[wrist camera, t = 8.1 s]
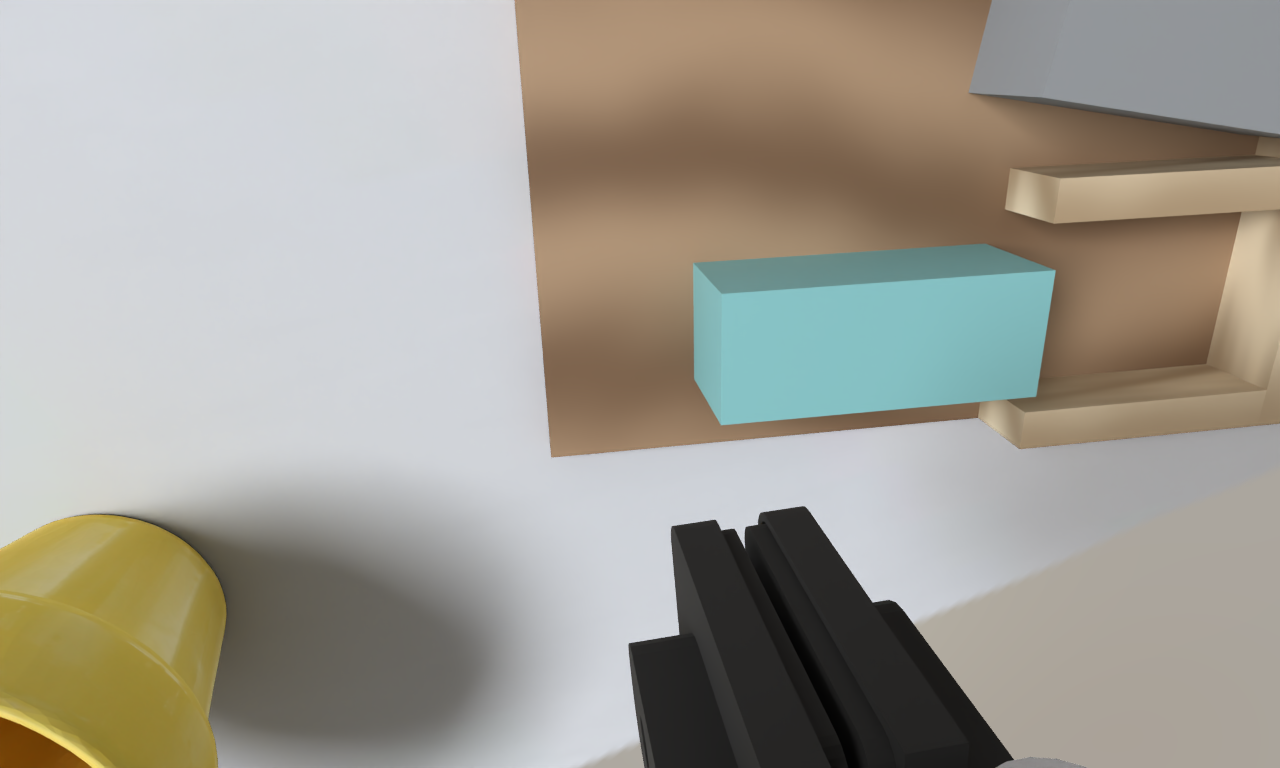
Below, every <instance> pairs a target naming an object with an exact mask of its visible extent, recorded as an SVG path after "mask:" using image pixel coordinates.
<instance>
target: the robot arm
mask: <svg viewBox="0 0 1280 768" xmlns="http://www.w3.org/2000/svg"><path fill="white" fill-rule="evenodd" d="M671 542H672V554H673V565H674V577H675V588H676V600H677V611H678V622H679V634H680V635H677V636H671V637H665V638H659V639H653V640H647V641H641V642H635V643H629V658H630V667H631V676H632V685H633V693H634V701H635V709H636V716H637V723H638V730H639V737H640V743H641V749H642V755H643V761H644V767H645V768H1087V767H1084V766H1081V765H1077V764H1073V763H1070V762H1066V761H1062V760H1059V759H1050V758H1035V757H1029V758H1023V759H1017V760H1014V759H1013V758H1012V757H1011V755H1010V754H1009V752H1008V751H1007V750H1006V748H1005V747H1004V746H1003V744H1002V743H1001V742H1000V740H999V739H998V738H997V736H996V735H995V734H994V732H993V731H992V729H991V728H990V727H989V725H988V724H987V723H986V721H985V720H984V719H983V717H982V716H981V715H980V713H979V712H978V711H977V709H976V708H975V706H974V705H973V704H972V702H971V701H970V700H969V698H968V697H967V696H966V694H965V693H964V692H963V690H962V689H961V688H960V686H959V685H958V684H957V683H956V681H955V680H954V678H953V677H952V676H951V674H950V673H949V671H948V670H947V669H946V667H945V666H944V665H943V663H942V662H941V661H940V659H939V658H938V657H937V655H936V654H935V653H934V651H933V650H932V649H931V647H930V646H929V645H928V643H927V642H926V641H925V639H924V638H923V636H922V635H921V634H920V632H919V631H918V630H917V628H916V627H915V626H914V624H913V623H912V621H911V620H910V619H909V617H908V616H907V615H906V613H905V612H904V611H903V609H902V608H901V607H900V606H899V605H898V604H897V603H896V602H893V601H890V600H886V601H880V602H874V603H872V601H871V600H870V598H869V597H868V595H867V594H866V593H865V591H864V590H863V588H862V587H861V585H860V584H859V582H858V581H857V580H856V578H855V577H854V575H853V574H852V572H851V571H850V569H849V568H848V567H847V565H846V564H845V562H844V561H843V559H842V558H841V556H840V555H839V554H838V552H837V551H836V549H835V548H834V546H833V545H832V543H831V542H830V541H829V539H828V538H827V536H826V535H825V533H824V532H823V530H822V529H821V528H820V526H819V525H818V523H817V522H816V520H815V519H814V517H813V516H812V515H811V513H810V512H809V510H808V509H807V508H806V507H803V506H802V507H795V508H788V509H782V510H775V511H769V512H762V513H760V515H759V519H758V525H754V526H748V527H746V529H745V548H744V546H743V544H742V542H741V540H740V538H739V536H738V534H737V532H736V531H735V529H728V530H722V531H721V529H720V527H719V525H718V523H717V521H716V520H710V521H704V522H697V523H690V524H684V525H677V526H672V528H671Z"/></svg>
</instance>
